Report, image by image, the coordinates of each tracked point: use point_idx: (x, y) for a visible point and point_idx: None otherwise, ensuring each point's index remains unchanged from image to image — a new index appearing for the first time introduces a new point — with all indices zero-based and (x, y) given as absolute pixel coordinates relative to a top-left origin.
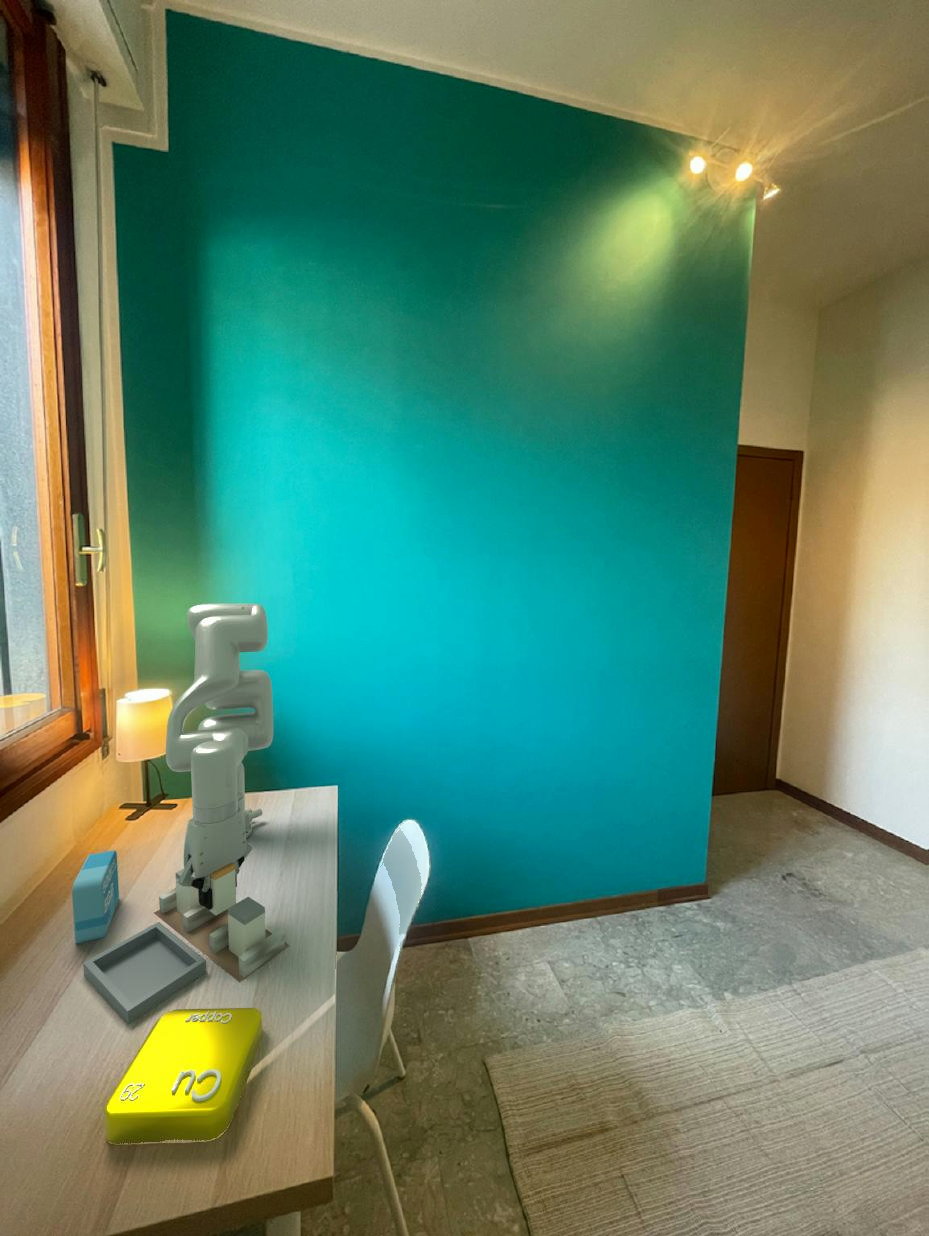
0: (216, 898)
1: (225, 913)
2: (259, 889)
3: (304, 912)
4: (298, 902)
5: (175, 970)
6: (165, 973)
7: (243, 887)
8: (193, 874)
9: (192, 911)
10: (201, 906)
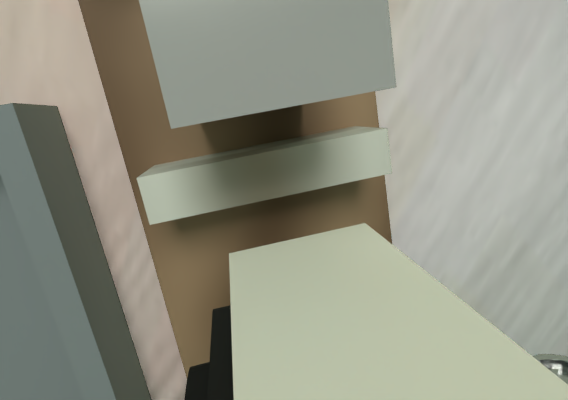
0: None
1: (339, 188)
2: (518, 95)
3: (537, 348)
4: (558, 286)
5: (67, 397)
6: (29, 388)
7: (483, 20)
8: (253, 9)
9: (191, 187)
10: (246, 177)
